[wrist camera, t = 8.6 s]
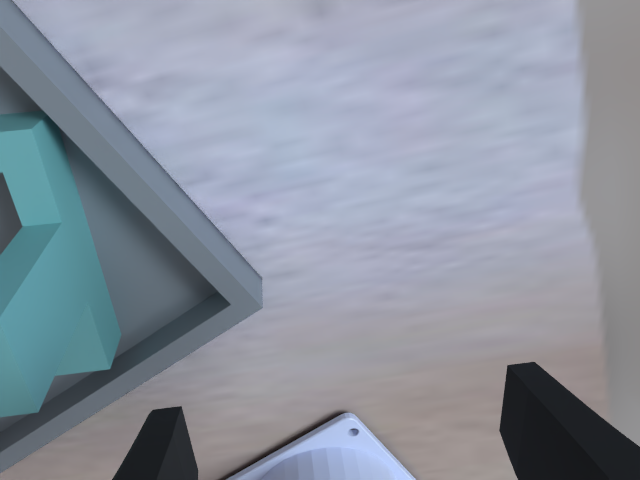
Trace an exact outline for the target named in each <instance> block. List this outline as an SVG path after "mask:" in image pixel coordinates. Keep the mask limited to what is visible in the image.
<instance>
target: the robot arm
mask: <svg viewBox="0 0 640 480" xmlns="http://www.w3.org/2000/svg"><path fill="white" fill-rule="evenodd" d="M353 428H356V429H354V430H350V429H353ZM500 433H501V436H502V439H503V442H504V445H505V447H506V450H507V453H508V456H509V458H510V461H511V463H512V466H513V469H514V471H515V474H516V476H517V478H518V480H640V447H639V446H638V445H636V444H635V443H634V442H632V441H631V440H630V439H629V438H627V437H626V436H625V435H623V434H622V433H621V432H619V431H618V430H617V429H615V428H614V427H613V426H612V425H610V424H609V423H608V422H607V421H605V420H604V419H603V418H601V417H600V416H599V415H598V414H596V413H595V412H594V411H593V410H591V409H590V408H589V407H588V406H587V405H585V404H584V403H583V402H582V401H581V400H579V399H578V398H577V397H576V396H575V395H573V394H572V393H571V392H570V391H569V390H567V389H566V388H565V387H564V386H563V385H561V384H560V383H559V382H558V381H557V380H555V379H554V378H553V377H552V376H551V375H549V374H548V373H547V372H546V371H545V370H543V369H542V368H541V367H540V366H539V365H537V364H536V363H535V362H529V363H522V364H514V365H508V366H507V374H506V382H505V390H504V398H503V406H502V414H501V423H500ZM112 480H198V468H197V464H196V461H195V457H194V453H193V449H192V445H191V441H190V437H189V434H188V430H187V426H186V422H185V418H184V414H183V410H182V407H181V406H180V407H172V408H164V409H156V410H152V412H151V413H150V414H149V415H148V417H147V419H146V421H145V423H144V425H143V427H142V428H141V430H140V432H139V434H138V436H137V438H136V440H135V441H134V443H133V445H132V447H131V449H130V450H129V452H128V454H127V456H126V457H125V459H124V461H123V463H122V464H121V466H120V468H119V469H118V471H117V473H116V474H115V476H114V478H113V479H112ZM226 480H416V479H415V478H414V477H413V476H412V475H411V474H410V473H409V472H408V471H407V470H406V468H405V467H404V466H403V465H402V464H401V463H400V462H399V461H398V460H397V459H396V458H395V457H394V456H393V455H392V454H391V453H390V452H389V450H388V449H387V448H386V447H385V446H384V445H383V444H382V443H381V442H380V441H379V440H378V439H377V438H376V437H375V436H374V435H373V434H372V432H371V431H370V430H369V429H368V428H367V427H366V426H365V425H364V424H363V423H362V422H361V421H360V420H359V419H358V418H357V417H356V416H355V415H354V414H352V413H344V414H341V415H339V416H337V417H336V418H334V419H332V420H330V421H329V422H327V423H325V424H323V425H321V426H320V427H318V428H316V429H314V430H313V431H311V432H309V433H307V434H306V435H304V436H302V437H300V438H298V439H297V440H295V441H293V442H291V443H290V444H288V445H286V446H284V447H283V448H281V449H279V450H277V451H275V452H274V453H272V454H270V455H268V456H267V457H265V458H263V459H261V460H260V461H258V462H256V463H254V464H252V465H251V466H249V467H247V468H245V469H244V470H242V471H240V472H238V473H237V474H235V475H233V476H231V477H229V478H228V479H226Z"/></svg>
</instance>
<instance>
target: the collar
mask: <svg viewBox="0 0 640 480" xmlns="http://www.w3.org/2000/svg"><path fill="white" fill-rule="evenodd" d="M2 172H3V175H4V177H5V180H6V183H7V186H8V188H9V191H10V194H11V196H12V199H13V202H14V205H15V207H16V210H17V213H18V216H19V218H20V221H21V224H22V226H23V227H22V228H21V229H20V230H19V232H18V233H17V234H16V236H15V237H14V238H13V239H12V241H11V242H10V243H9V245H8V246H7V247H6V248H5V250H4V251H3V252H2V254H1V255H0V417H6V416H14V415H23V414H31V413H38V412H39V410H40V408H41V405H42V403H43V401H44V399H45V397H46V394H47V392H48V390H49V388H50V385H51V383H52V381H53V379H54V376H58V375H66V374H75V373H83V372H91V371H100V370H108V369H110V368H111V365H112V362H113V359H114V356H115V353H116V350H117V347H118V344H119V340H120V337H121V332H120V328H119V325H118V322H117V319H116V315H115V312H114V309H113V305H112V302H111V299H110V295H109V292H108V289H107V285H106V282H105V279H104V275H103V272H102V269H101V266H100V262H99V259H98V256H97V252H96V249H95V246H94V242H93V239H92V236H91V232H90V229H89V226H88V222H87V219H86V216H85V213H84V209H83V206H82V203H81V199H80V196H79V193H78V189H77V186H76V183H75V179H74V176H73V173H72V169H71V166H70V163H69V160H68V156H67V153H66V150H65V146H64V143H63V140H62V136H61V133H60V130H59V126H58V125H57V124H56V123H55V122H54V121H53V120H52V119H51V118H50V117H49V116H48V115H47V114H46V113H45V112H44V111H43V110H42V111H31V112H21V113H10V114H0V173H2Z"/></svg>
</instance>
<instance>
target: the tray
mask: <svg viewBox="0 0 640 480" xmlns="http://www.w3.org/2000/svg"><path fill="white" fill-rule="evenodd" d="M42 110H43V111H44V112H45V113H46V114H47V115H48V116H49V117H50V118H51V119H52V120H53V121H54V122H55V123H56V124H57V125H58V126H59V130H60V133H61V136H62V140H63V143H64V146H65V150H66V153H67V156H68V160H69V163H70V166H71V169H72V173H73V176H74V179H75V183H76V186H77V189H78V193H79V196H80V199H81V203H82V206H83V209H84V213H85V216H86V219H87V222H88V226H89V229H90V232H91V236H92V239H93V242H94V246H95V249H96V252H97V256H98V259H99V262H100V266H101V269H102V272H103V275H104V279H105V282H106V285H107V289H108V292H109V295H110V299H111V302H112V305H113V309H114V312H115V315H116V319H117V322H118V325H119V328H120V332H121V337H120V340H119V344H118V347H117V350H116V353H115V356H114V359H113V362H112V365H111V368H110V369H108V370H100V371H91V372H83V373H75V374H66V375H58V376H54V379H53V381H52V383H51V385H50V388H49V390H48V392H47V394H46V397H45V399H44V401H43V403H42V405H41V408H40V410H39V412H38V413H31V414H23V415H14V416H6V417H0V473H1V472H3V471H4V470H6V469H8V468H9V467H11V466H12V465H14V464H15V463H17V462H19V461H20V460H22V459H23V458H25V457H27V456H28V455H30V454H31V453H33V452H35V451H36V450H38V449H39V448H41V447H42V446H44V445H46V444H47V443H49V442H50V441H52V440H54V439H55V438H57V437H58V436H60V435H62V434H63V433H65V432H66V431H68V430H69V429H71V428H73V427H74V426H76V425H77V424H79V423H81V422H82V421H84V420H85V419H87V418H88V417H90V416H92V415H93V414H95V413H96V412H98V411H100V410H101V409H103V408H104V407H106V406H108V405H109V404H111V403H112V402H114V401H115V400H117V399H119V398H120V397H122V396H123V395H125V394H127V393H128V392H130V391H131V390H133V389H135V388H136V387H138V386H139V385H141V384H142V383H144V382H146V381H147V380H149V379H150V378H152V377H154V376H155V375H157V374H158V373H160V372H162V371H163V370H165V369H166V368H168V367H169V366H171V365H173V364H174V363H176V362H177V361H179V360H181V359H182V358H184V357H185V356H187V355H189V354H190V353H192V352H193V351H195V350H196V349H198V348H200V347H201V346H203V345H204V344H206V343H208V342H209V341H211V340H212V339H214V338H215V337H217V336H219V335H220V334H222V333H223V332H225V331H227V330H228V329H230V328H231V327H233V326H235V325H236V324H238V323H239V322H241V321H242V320H244V319H246V318H247V317H249V316H250V315H252V314H254V313H255V312H257V311H258V310H260V309H262V308H263V303H262V278H261V277H260V275H259V274H258V273H257V272H256V271H255V270H254V269H253V268H252V267H251V265H250V264H249V263H248V262H247V261H246V260H245V259H244V258H243V257H242V255H241V254H240V253H239V252H238V251H237V250H236V249H235V248H234V247H233V245H232V244H231V243H230V242H229V241H228V240H227V239H226V238H225V237H224V235H223V234H222V233H221V232H220V231H219V230H218V229H217V228H216V227H215V225H214V224H213V223H212V222H211V221H210V220H209V219H208V218H207V217H206V215H205V214H204V213H203V212H202V211H201V210H200V209H199V208H198V207H197V205H196V204H195V203H194V202H193V201H192V200H191V199H190V198H189V197H188V195H187V194H186V193H185V192H184V191H183V190H182V189H181V188H180V187H179V185H178V184H177V183H176V182H175V181H174V180H173V179H172V178H171V177H170V175H169V174H168V173H167V172H166V171H165V170H164V169H163V168H162V167H161V165H160V164H159V163H158V162H157V161H156V160H155V159H154V158H153V157H152V155H151V154H150V153H149V152H148V151H147V150H146V149H145V148H144V147H143V145H142V144H141V143H140V142H139V141H138V140H137V139H136V138H135V137H134V135H133V134H132V133H131V132H130V131H129V130H128V129H127V128H126V127H125V125H124V124H123V123H122V122H121V121H120V120H119V119H118V118H117V117H116V115H115V114H114V113H113V112H112V111H111V110H110V109H109V108H108V107H107V105H106V104H105V103H104V102H103V101H102V100H101V99H100V98H99V97H98V96H97V94H96V93H95V92H94V91H93V90H92V89H91V88H90V87H89V86H88V84H87V83H86V82H85V81H84V80H83V79H82V78H81V77H80V76H79V74H78V73H77V72H76V71H75V70H74V69H73V68H72V67H71V66H70V64H69V63H68V62H67V61H66V60H65V59H64V58H63V57H62V56H61V54H60V53H59V52H58V51H57V50H56V49H55V48H54V47H53V46H52V44H51V43H50V42H49V41H48V40H47V39H46V38H45V37H44V36H43V34H42V33H41V32H40V31H39V30H38V29H37V28H36V27H35V26H34V24H33V23H32V22H31V21H30V20H29V19H28V18H27V17H26V16H25V14H24V13H23V12H22V11H21V10H20V9H19V8H18V7H17V6H16V4H15V3H14V2H13V1H12V0H0V114H10V113H21V112H31V111H42ZM22 227H23V226H22V224H21V221H20V218H19V216H18V213H17V210H16V207H15V205H14V202H13V199H12V196H11V194H10V191H9V188H8V186H7V183H6V180H5V177H4V175H3V172H2V173H0V255H1V254H2V252H3V251H4V250H5V248H6V247H7V246H8V245H9V243H10V242H11V241H12V239H13V238H14V237H15V236H16V234H17V233H18V232H19V230H20V229H21V228H22Z"/></svg>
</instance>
